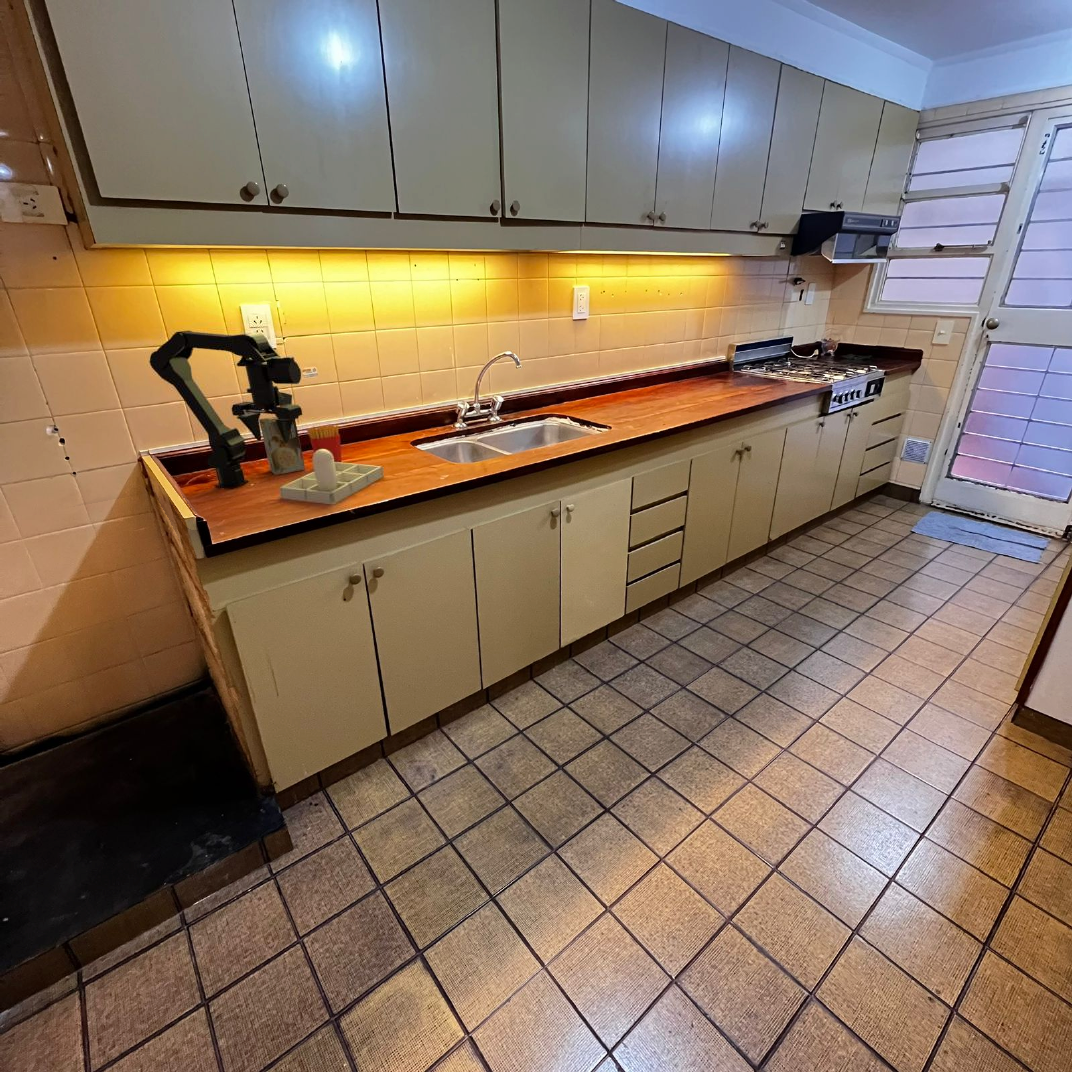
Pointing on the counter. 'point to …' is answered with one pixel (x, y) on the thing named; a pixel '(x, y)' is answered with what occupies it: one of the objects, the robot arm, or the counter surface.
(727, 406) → the counter surface
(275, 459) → the coffee box
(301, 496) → the divided tray
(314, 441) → the french fries
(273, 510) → the counter surface
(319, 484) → the white rounded cylinder
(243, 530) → the counter surface
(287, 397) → the robot arm
